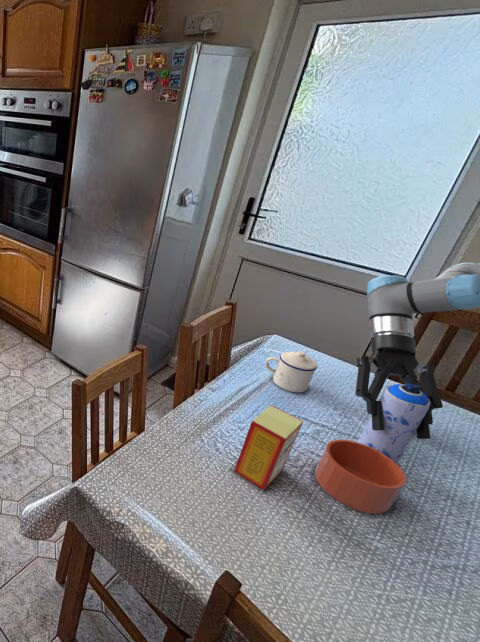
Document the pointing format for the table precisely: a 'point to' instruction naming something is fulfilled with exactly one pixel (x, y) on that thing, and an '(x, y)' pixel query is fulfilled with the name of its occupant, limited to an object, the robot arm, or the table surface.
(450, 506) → the table surface
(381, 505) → the terracotta bowl
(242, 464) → the baking soda box
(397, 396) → the aerosol can
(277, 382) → the teacup with lid
